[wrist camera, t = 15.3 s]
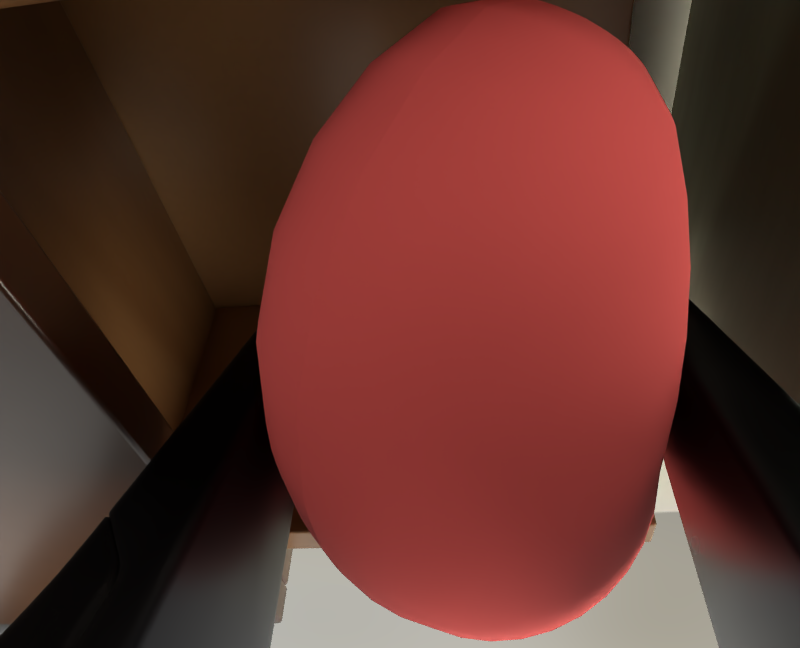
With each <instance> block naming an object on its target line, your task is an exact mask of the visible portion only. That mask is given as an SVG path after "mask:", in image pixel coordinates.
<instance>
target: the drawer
mask: <svg viewBox="0 0 800 648" xmlns="http://www.w3.org/2000/svg"><path fill="white" fill-rule="evenodd" d="M473 1H479V0H0V191H1V192H2V194H3V195H4V196H5V198H6V199H7V200H8V202H9V203H10V205H11V206H12V207H13V209H14V210H15V212H16V213H17V214H18V216H19V217H20V218H21V220H22V221H23V223H24V224H25V225H26V227H27V228H28V230H29V231H30V232H31V234H32V235H33V237H34V238H35V239H36V241H37V242H38V243H39V245H40V246H41V248H42V249H43V250H44V252H45V253H46V255H47V256H48V257H49V259H50V260H51V261H52V263H53V264H54V266H55V267H56V268H57V270H58V271H59V273H60V274H61V275H62V277H63V278H64V279H65V281H66V282H67V284H68V285H69V286H70V288H71V289H72V291H73V292H74V293H75V295H76V296H77V297H78V299H79V300H80V302H81V303H82V304H83V306H84V307H85V309H86V310H87V311H88V313H89V314H90V316H91V317H92V318H93V320H94V321H95V322H96V324H97V325H98V327H99V328H100V329H101V331H102V332H103V334H104V335H105V336H106V338H107V339H108V340H109V342H110V343H111V345H112V346H113V347H114V349H115V350H116V352H117V353H118V354H119V356H120V357H121V358H122V360H123V361H124V363H125V364H126V365H127V367H128V368H129V370H130V371H131V372H132V374H133V375H134V376H135V378H136V379H137V381H138V382H139V383H140V385H141V386H142V388H143V389H144V390H145V392H146V393H147V395H148V396H149V397H150V399H151V400H152V401H153V403H154V404H155V406H156V407H157V408H158V410H159V411H160V413H161V414H162V415H163V417H164V418H165V419H166V421H167V422H168V424H169V425H170V426H171V428H172V429H173V431H175V430H176V429H177V427H178V426H179V425H180V424H181V422H182V421H183V420H184V419H185V417H186V416H187V415H188V414H189V413H190V411H191V410H192V409H193V408H194V406H195V405H196V404H197V403H198V401H199V400H200V399H201V398H202V396H203V395H204V394H205V393H206V391H207V390H208V389H209V388H210V387H211V385H212V384H213V383H214V382H215V380H216V379H217V378H218V377H219V375H220V374H221V373H222V372H223V370H224V369H225V368H226V367H227V366H228V364H229V363H230V362H231V361H232V359H233V358H234V357H235V356H236V354H237V353H238V352H239V351H240V349H241V348H242V347H243V346H244V344H245V343H246V342H247V341H248V340H249V338H250V337H251V336H252V335H253V333H254V332H255V331H256V330H257V327H258V319H259V313H260V307H261V301H262V295H263V289H264V283H265V277H266V271H267V265H268V259H269V254H270V248H271V242H272V236H273V230H274V228H275V226H276V223H277V221H278V219H279V216H280V214H281V212H282V209H283V207H284V205H285V203H286V200H287V198H288V196H289V193H290V191H291V189H292V186H293V184H294V182H295V180H296V177H297V175H298V173H299V170H300V168H301V166H302V163H303V161H304V159H305V157H306V154H307V152H308V150H309V147H310V145H311V143H312V140H313V138H314V137H315V136H316V135H317V133H318V132H319V131H320V129H321V128H322V127H323V125H324V124H325V123H326V121H327V120H328V119H329V117H330V116H331V115H332V113H333V112H334V111H335V109H336V108H337V107H338V105H339V104H340V103H341V101H342V100H343V99H344V97H345V96H346V95H347V93H348V92H349V91H350V89H351V88H352V87H353V85H354V84H355V83H356V81H357V80H358V79H359V77H360V76H361V75H362V73H363V72H364V71H365V69H366V68H367V67H368V65H369V64H370V63H371V62H372V61H373V60H375V59H376V58H377V57H379V56H380V55H381V54H382V53H384V52H385V51H386V50H387V49H389V48H390V47H391V46H393V45H394V44H395V43H396V42H398V41H399V40H400V39H401V38H403V37H404V36H405V35H407V34H408V33H409V32H410V31H412V30H413V29H414V28H415V27H417V26H418V25H419V24H421V23H422V22H423V21H424V20H426V19H427V18H428V17H430V16H431V15H432V14H433V13H435V12H436V11H437V10H439V9H440V8H442V7H446V6H450V5H455V4H461V3H467V2H473ZM539 1H543V2H546V3H549V4H553V5H556V6H559V7H561V8H563V9H566V10H568V11H571V12H573V13H575V14H578V15H580V16H582V17H584V18H586V19H588V20H589V21H591V22H593V23H594V24H596V25H598V26H599V27H601V28H603V29H604V30H606V31H607V32H609V33H610V34H612V35H613V36H614V37H616V38H617V39H618V40H620V41H621V42H622V43H623V44H625V45H626V46H627V47H628V48H629V41H630V32H631V24H632V15H633V7H634V0H539ZM671 115H672V118H673V120H674V122H675V125H676V131H677V137H678V143H679V149H680V155H681V161H682V167H683V173H684V179H685V186H686V192H687V199H688V221H689V242H690V264H691V270H690V288H689V299H690V300H691V301H692V302H693V303H694V304H695V305H696V306H697V307H698V308H699V309H700V310H701V311H702V312H703V313H705V314H706V315H707V316H708V317H709V318H710V319H711V320H712V321H713V322H714V323H715V324H716V325H717V326H718V327H719V328H720V329H721V330H722V331H723V332H724V333H725V334H726V335H727V336H728V337H729V338H730V339H732V340H733V341H734V342H735V343H736V344H737V345H738V346H739V347H740V348H741V349H742V350H743V351H744V352H745V353H746V354H747V355H748V356H749V357H750V358H751V359H752V360H753V361H754V362H755V363H756V364H757V365H759V366H760V367H761V368H762V369H763V370H764V371H765V372H766V373H767V374H768V375H769V376H770V377H771V378H772V379H773V380H774V381H775V382H776V383H777V384H778V385H779V386H780V387H781V388H782V389H783V390H785V391H786V392H787V393H788V394H789V395H790V396H791V397H792V398H793V399H794V400H795V401H796V402H797V403H798V404H799V405H800V0H692V3H691V8H690V14H689V19H688V25H687V31H686V36H685V42H684V47H683V53H682V58H681V64H680V69H679V75H678V80H677V86H676V91H675V97H674V103H673V108H672V114H671ZM655 527H656V520H655V515H653V518H652V521H651V524H650V527H649V530H648V533H647V536H646V538H645V541H644V542H650V541H651V539H652V536H653V533H654V530H655ZM292 548H321V547H320V545H319V544H318V543H317V541H316V540H315V539H314V537H313V536H312V535H311V533H310V532H309V530H308V529H307V527H306V526H305V524H304V522H303V521H302V519H301V517H300V515H299V513H298V511H297V509H296V507H295V505H294V509H293V515H292V521H291V527H290V533H289V539H288V545H287V549H292Z"/></svg>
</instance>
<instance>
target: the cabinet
mask: <svg viewBox="0 0 800 648" xmlns="http://www.w3.org/2000/svg"><path fill="white" fill-rule="evenodd" d="M173 432H174V431H173V429H172V428H171V426H170V425H169V424H168V422H167V421H166V419H165V418H164V417H163V415H162V414H161V413H160V411H159V410H158V408H157V407H156V406H155V404H154V403H153V401H152V400H151V399H150V397H149V396H148V395H147V393H146V392H145V390H144V389H143V388H142V386H141V385H140V383H139V382H138V381H137V379H136V378H135V376H134V375H133V374H132V372H131V371H130V370H129V368H128V367H127V365H126V364H125V363H124V361H123V360H122V358H121V357H120V356H119V354H118V353H117V352H116V350H115V349H114V347H113V346H112V345H111V343H110V342H109V340H108V339H107V338H106V336H105V335H104V334H103V332H102V331H101V329H100V328H99V327H98V325H97V324H96V322H95V321H94V320H93V318H92V317H91V316H90V314H89V313H88V311H87V310H86V309H85V307H84V306H83V304H82V303H81V302H80V300H79V299H78V297H77V296H76V295H75V293H74V292H73V291H72V289H71V288H70V286H69V285H68V284H67V282H66V281H65V279H64V278H63V277H62V275H61V274H60V273H59V271H58V270H57V268H56V267H55V266H54V264H53V263H52V261H51V260H50V259H49V257H48V256H47V255H46V253H45V252H44V250H43V249H42V248H41V246H40V245H39V243H38V242H37V241H36V239H35V238H34V237H33V235H32V234H31V232H30V231H29V230H28V228H27V227H26V225H25V224H24V223H23V221H22V220H21V218H20V217H19V216H18V214H17V213H16V212H15V210H14V209H13V207H12V206H11V205H10V203H9V202H8V200H7V199H6V198H5V196H4V195H3V194H2V192H1V191H0V624H11V623H12V622H13V621H14V620H15V619H16V618H17V617H18V616H19V615H20V614H21V613H22V612H23V611H24V610H25V609H26V608H27V607H28V605H29V604H30V603H31V602H32V601H33V600H34V599H35V598H36V597H37V596H38V595H39V594H40V592H41V591H42V590H43V589H44V588H45V587H46V586H47V585H48V584H49V583H50V582H51V580H52V579H53V578H54V577H55V576H56V575H57V574H58V573H59V572H60V570H61V569H62V568H63V567H64V566H65V564H66V563H67V562H68V561H69V560H70V559H71V557H72V556H73V555H74V554H75V553H76V551H77V550H78V549H79V548H80V547H81V546H82V544H83V543H84V542H85V541H86V540H87V538H88V537H89V536H90V535H91V533H92V532H93V531H94V530H95V528H96V527H97V526H98V525H99V524H100V522H101V521H102V520H103V519H104V518H105V517H109V512H110V510H111V509H112V508H113V507H114V505H115V504H116V503H117V502H118V500H119V499H120V498H121V497H122V495H123V494H124V493H125V492H126V490H127V489H128V488H129V487H130V486H131V484H132V483H133V482H134V481H135V479H136V478H137V477H138V476H139V474H140V473H141V472H142V471H143V469H144V468H145V467H146V466H147V464H148V463H149V462H150V461H151V460H152V458H153V457H154V456H155V455H156V453H157V452H158V451H159V450H160V448H161V447H162V446H163V445H164V443H165V442H166V441H167V440H168V438H169V437H170V436H171V435H172V434H173ZM292 549H293V548H292ZM292 549H287V550H286V556H285V562H284V568H283V574H282V580H281V586H280V592H279V598H278V604H277V610H276V616H275V622H274V623H280V622H281V621H282V616H283V609H284V603H285V596H286V590H287V589H286V586H285V585H286V584H287V581H288V575H289V569H290V562H291V556H292Z"/></svg>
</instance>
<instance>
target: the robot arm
mask: <svg viewBox="0 0 800 648" xmlns="http://www.w3.org/2000/svg"><path fill="white" fill-rule="evenodd" d="M256 338H257V330H256V331H255V332H254V333H253V335H252V336H251V337H250V338H249V340H248V341H247V342H246V343H245V344H244V346H243V347H242V348H241V349H240V351H239V352H238V353H237V354H236V356H235V357H234V358H233V359H232V361H231V362H230V363H229V364H228V366H227V367H226V368H225V369H224V370H223V372H222V373H221V374H220V375H219V377H218V378H217V379H216V380H215V382H214V383H213V384H212V385H211V387H210V388H209V389H208V390H207V391H206V393H205V394H204V395H203V396H202V398H201V399H200V400H199V401H198V403H197V404H196V405H195V406H194V408H193V409H192V410H191V411H190V413H189V414H188V415H187V416H186V417H185V419H184V420H183V421H182V422H181V424H180V425H179V426H178V427H177V429H176V430H175V431H174V432H173V434H172V435H171V436H170V437H169V438H168V440H167V441H166V442H165V443H164V445H163V446H162V447H161V448H160V450H159V451H158V452H157V453H156V455H155V456H154V457H153V458H152V460H151V461H150V462H149V463H148V464H147V466H146V467H145V468H144V469H143V471H142V472H141V473H140V474H139V476H138V477H137V478H136V479H135V481H134V482H133V483H132V484H131V486H130V487H129V488H128V489H127V490H126V492H125V493H124V494H123V495H122V497H121V498H120V499H119V500H118V502H117V503H116V504H115V505H114V507H113V508H112V509H111V510H110V512H109V517H105V518H104V519H103V520H102V521H101V522H100V524H99V525H98V526H97V527H96V528H95V530H94V531H93V532H92V533H91V535H90V536H89V537H88V538H87V540H86V541H85V542H84V543H83V544H82V546H81V547H80V548H79V549H78V550H77V551H76V553H75V554H74V555H73V556H72V557H71V559H70V560H69V561H68V562H67V563H66V564H65V566H64V567H63V568H62V569H61V570H60V572H59V573H58V574H57V575H56V576H55V577H54V578H53V579H52V580H51V582H50V583H49V584H48V585H47V586H46V587H45V588H44V589H43V590H42V591H41V592H40V594H39V595H38V596H37V597H36V598H35V599H34V600H33V601H32V602H31V603H30V604H29V605H28V607H27V608H26V609H25V610H24V611H23V612H22V613H21V614H20V615H19V616H18V617H17V618H16V619H15V620H14V621H13V622H12V623H11V624H0V648H270V645H271V640H272V634H273V627H274V622H275V616H276V610H277V604H278V598H279V592H280V586H281V580H282V574H283V568H284V562H285V556H286V550H287V545H288V539H289V533H290V527H291V521H292V515H293V509H294V503H293V501H292V498H291V496H290V494H289V492H288V490H287V488H286V486H285V483H284V481H283V479H282V477H281V475H280V472H279V470H278V467H277V465H276V462H275V459H274V456H273V453H272V450H271V446H270V441H269V436H268V431H267V426H266V420H265V412H264V404H263V395H262V387H261V379H260V371H259V362H258V354H257V346H256ZM664 462H665V466H666V469H667V472H668V476H669V479H670V483H671V486H672V489H673V493H674V496H675V500H676V503H677V506H678V510H679V513H680V517H681V520H682V523H683V527H684V530H685V534H686V537H687V540H688V544H689V547H690V551H691V554H692V557H693V561H694V564H695V568H696V571H697V574H698V578H699V581H700V585H701V588H702V591H703V595H704V598H705V602H706V605H707V608H708V612H709V615H710V619H711V622H712V625H713V629H714V632H715V636H716V639H717V642H718V646H719V648H800V405H799V404H798V403H797V402H796V401H795V400H794V399H793V398H792V397H791V396H790V395H789V394H788V393H787V392H786V391H785V390H783V389H782V388H781V387H780V386H779V385H778V384H777V383H776V382H775V381H774V380H773V379H772V378H771V377H770V376H769V375H768V374H767V373H766V372H765V371H764V370H763V369H762V368H761V367H760V366H759V365H757V364H756V363H755V362H754V361H753V360H752V359H751V358H750V357H749V356H748V355H747V354H746V353H745V352H744V351H743V350H742V349H741V348H740V347H739V346H738V345H737V344H736V343H735V342H734V341H733V340H732V339H730V338H729V337H728V336H727V335H726V334H725V333H724V332H723V331H722V330H721V329H720V328H719V327H718V326H717V325H716V324H715V323H714V322H713V321H712V320H711V319H710V318H709V317H708V316H707V315H706V314H705V313H703V312H702V311H701V310H700V309H699V308H698V307H697V306H696V305H695V304H694V303H693V302H692V301H691V300H690V299H689V306H688V323H687V339H686V346H685V353H684V360H683V367H682V374H681V381H680V387H679V394H678V401H677V405H676V409H675V413H674V418H673V422H672V426H671V430H670V434H669V439H668V443H667V447H666V451H665V454H664Z"/></svg>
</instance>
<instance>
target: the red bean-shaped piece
mask: <svg viewBox="0 0 800 648" xmlns="http://www.w3.org/2000/svg"><path fill="white" fill-rule="evenodd" d="M690 270H691V264H690V242H689V221H688V199H687V192H686V186H685V179H684V173H683V167H682V161H681V155H680V149H679V143H678V137H677V131H676V125H675V122H674V120H673V118H672V115H671V113H670V111H669V109H668V108H667V106H666V104H665V102H664V100H663V98H662V96H661V95H660V93H659V91H658V89H657V87H656V85H655V84H654V82H653V80H652V78H651V76H650V74H649V72H648V71H647V69H646V68H645V66H644V65H643V63H642V62H641V60H640V59H639V58H638V57H637V56H636V55H635V54H634V53H633V52H632V51H631V50H630V49H629V48H628V47H627V46H626V45H625V44H623V43H622V42H621V41H620V40H618V39H617V38H616V37H614V36H613V35H612V34H610V33H609V32H607V31H606V30H604V29H603V28H601V27H599V26H598V25H596V24H594V23H593V22H591V21H589V20H588V19H586V18H584V17H582V16H580V15H578V14H575V13H573V12H571V11H568V10H566V9H563V8H561V7H559V6H556V5H553V4H549V3H546V2H543V1H539V0H479V1H473V2H467V3H461V4H455V5H450V6H446V7H442V8H440V9H439V10H437V11H436V12H435V13H433V14H432V15H431V16H430V17H428V18H427V19H426V20H424V21H423V22H422V23H421V24H419V25H418V26H417V27H415V28H414V29H413V30H412V31H410V32H409V33H408V34H407V35H405V36H404V37H403V38H401V39H400V40H399V41H398V42H396V43H395V44H394V45H393V46H391V47H390V48H389V49H387V50H386V51H385V52H384V53H382V54H381V55H380V56H379V57H377V58H376V59H375V60H373V61H372V62H371V63H370V64H369V65H368V67H367V68H366V69H365V71H364V72H363V73H362V75H361V76H360V77H359V79H358V80H357V81H356V83H355V84H354V85H353V87H352V88H351V89H350V91H349V92H348V93H347V95H346V96H345V97H344V99H343V100H342V101H341V103H340V104H339V105H338V107H337V108H336V109H335V111H334V112H333V113H332V115H331V116H330V117H329V119H328V120H327V121H326V123H325V124H324V125H323V127H322V128H321V129H320V131H319V132H318V133H317V135H316V136H315V137H314V138H313V140H312V143H311V145H310V147H309V150H308V152H307V154H306V157H305V159H304V161H303V163H302V166H301V168H300V170H299V173H298V175H297V177H296V180H295V182H294V184H293V186H292V189H291V191H290V193H289V196H288V198H287V200H286V203H285V205H284V207H283V209H282V212H281V214H280V216H279V219H278V221H277V223H276V226H275V228H274V230H273V236H272V242H271V248H270V254H269V259H268V265H267V271H266V277H265V283H264V289H263V295H262V301H261V307H260V313H259V319H258V327H257V338H256V346H257V354H258V362H259V371H260V379H261V387H262V395H263V404H264V412H265V420H266V426H267V431H268V436H269V441H270V446H271V450H272V453H273V456H274V459H275V462H276V465H277V467H278V470H279V472H280V475H281V477H282V479H283V481H284V483H285V486H286V488H287V490H288V492H289V494H290V496H291V498H292V501H293V503H294V505H295V507H296V509H297V511H298V513H299V515H300V517H301V519H302V521H303V522H304V524H305V526H306V527H307V529H308V530H309V532H310V533H311V535H312V536H313V537H314V539H315V540H316V541H317V543H318V544H319V545H320V547H321V548H322V549H323V551H324V552H325V553H326V555H327V556H328V557H329V559H330V560H331V561H332V562H333V564H334V565H335V566H336V567H337V569H339V571H340V572H341V573H342V574H343V575H344V576H345V577H346V578H347V579H349V580H350V581H351V582H352V583H353V584H354V585H355V586H356V587H358V588H359V589H360V590H361V591H362V592H363V593H364V594H366V595H367V596H368V597H369V598H370V599H371V600H373V601H374V602H376V603H377V604H379V605H381V606H383V607H385V608H386V609H388V610H390V611H391V612H393V613H395V614H396V615H398V616H400V617H403V618H405V619H408V620H411V621H414V622H417V623H419V624H422V625H425V626H428V627H431V628H434V629H437V630H440V631H443V632H446V633H449V634H452V635H455V636H458V637H461V638H468V639H476V640H484V641H502V640H514V639H515V640H516V639H524V638H527V637H531V636H534V635H538V634H542V633H545V632H548V631H552V630H554V629H556V628H558V627H560V626H562V625H564V624H566V623H568V622H570V621H572V620H574V619H576V618H578V617H580V616H582V615H583V614H584V613H586V612H587V611H588V610H589V609H591V608H592V607H593V606H595V605H596V604H597V603H598V602H600V601H601V600H602V599H603V598H605V597H606V596H607V595H608V594H609V593H610V591H611V590H612V589H613V588H614V587H615V586H616V585H617V583H618V582H619V581H620V580H621V579H622V578H623V576H624V575H625V574H626V573H627V572H628V570H629V568H630V567H631V565H632V563H633V562H634V560H635V558H636V556H637V554H638V553H639V551H640V549H641V548H642V546H643V544H644V541H645V538H646V536H647V533H648V530H649V527H650V524H651V521H652V518H653V515H654V510H655V503H656V496H657V489H658V482H659V475H660V470H661V465H662V462H663V458H664V454H665V451H666V447H667V443H668V439H669V434H670V430H671V426H672V422H673V418H674V413H675V409H676V405H677V401H678V394H679V387H680V381H681V374H682V367H683V360H684V353H685V346H686V339H687V323H688V306H689V288H690Z"/></svg>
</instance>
